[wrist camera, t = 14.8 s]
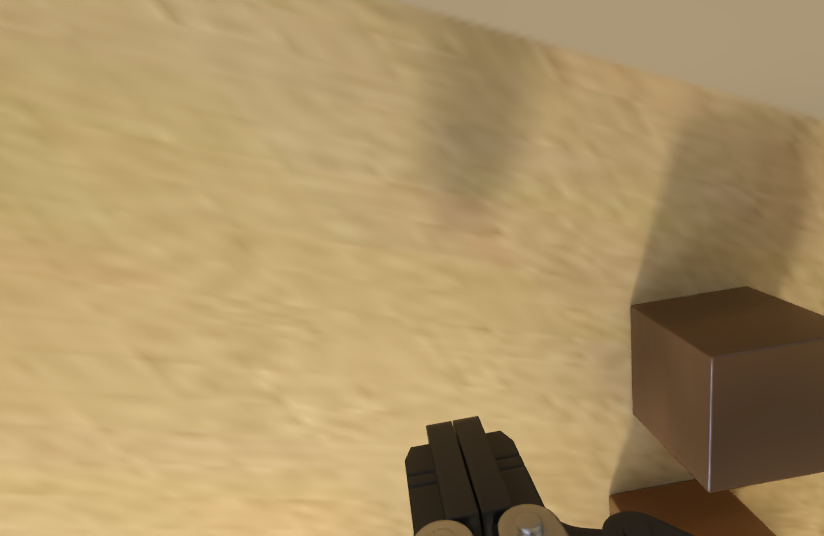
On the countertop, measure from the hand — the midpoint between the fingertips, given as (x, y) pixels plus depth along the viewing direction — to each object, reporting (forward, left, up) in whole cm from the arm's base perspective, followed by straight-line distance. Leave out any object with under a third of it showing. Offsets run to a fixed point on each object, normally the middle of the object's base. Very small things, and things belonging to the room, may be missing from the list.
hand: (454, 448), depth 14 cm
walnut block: (+1, +10, -4) cm, 11 cm away
